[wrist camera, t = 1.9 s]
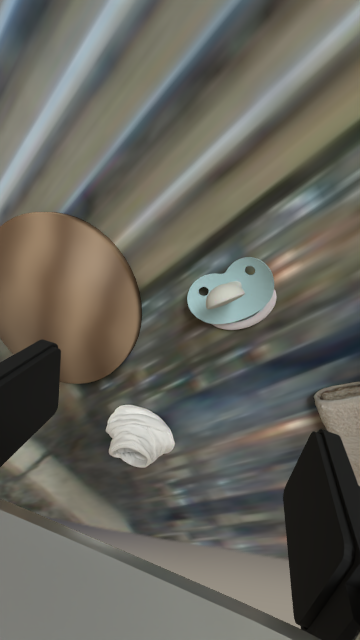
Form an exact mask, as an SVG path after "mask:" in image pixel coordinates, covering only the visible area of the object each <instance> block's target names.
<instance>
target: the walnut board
mask: <svg viewBox="0 0 360 640" xmlns="http://www.w3.org/2000/svg"><path fill="white" fill-rule="evenodd" d="M141 320H142V305H141V298H140V292H139V289H138V285H137V282H136V279H135V277H134V274H133V272H132V270H131V268H130V266H129V264H128V262H127V261H126V259H125V257H124V256H123V255H122V253H121V252H120V250H119V249H118V248H117V247H116V246H115V244H114V243H113V242H112V241H111V240H110V239H109V238H108V237H107V236H106V235H104V234H103V233H102V232H101V231H100V230H98V229H97V228H95V227H94V226H92V225H91V224H89V223H88V222H86V221H83V220H81V219H79V218H77V217H74V216H71V215H68V214H63V213H57V212H33V213H27V214H22V215H20V216H17V217H14V218H12V219H11V220H9V221H7V222H5V223H4V224H3V225H2V226H1V227H0V338H1V340H2V341H3V343H4V344H5V345H6V346H7V348H8V349H9V350H10V351H11V352H12V353H13V354H16V353H18V352H20V351H21V350H23V349H25V348H27V347H28V346H30V345H32V344H34V343H35V342H37V341H39V340H41V339H44V340H47V341H50V342H53V343H56V344H57V345H58V348H59V349H60V350H61V363H60V382H65V383H75V384H80V383H89V382H93V381H96V380H99V379H101V378H104V377H105V376H107V375H109V374H110V373H112V372H113V371H114V370H115V369H116V368H117V367H119V365H120V364H121V363H122V362H123V361H124V360H125V359H126V358H127V357H128V355H129V354H130V353H131V351H132V349H133V348H134V346H135V344H136V341H137V339H138V336H139V332H140V328H141Z"/></svg>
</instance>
